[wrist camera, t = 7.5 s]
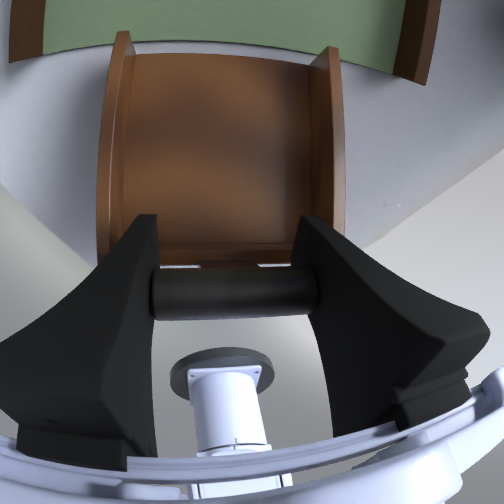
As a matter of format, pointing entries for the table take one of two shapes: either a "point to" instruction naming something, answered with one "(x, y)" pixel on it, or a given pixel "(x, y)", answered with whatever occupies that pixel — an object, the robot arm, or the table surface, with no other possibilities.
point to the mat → (240, 27)
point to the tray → (221, 174)
